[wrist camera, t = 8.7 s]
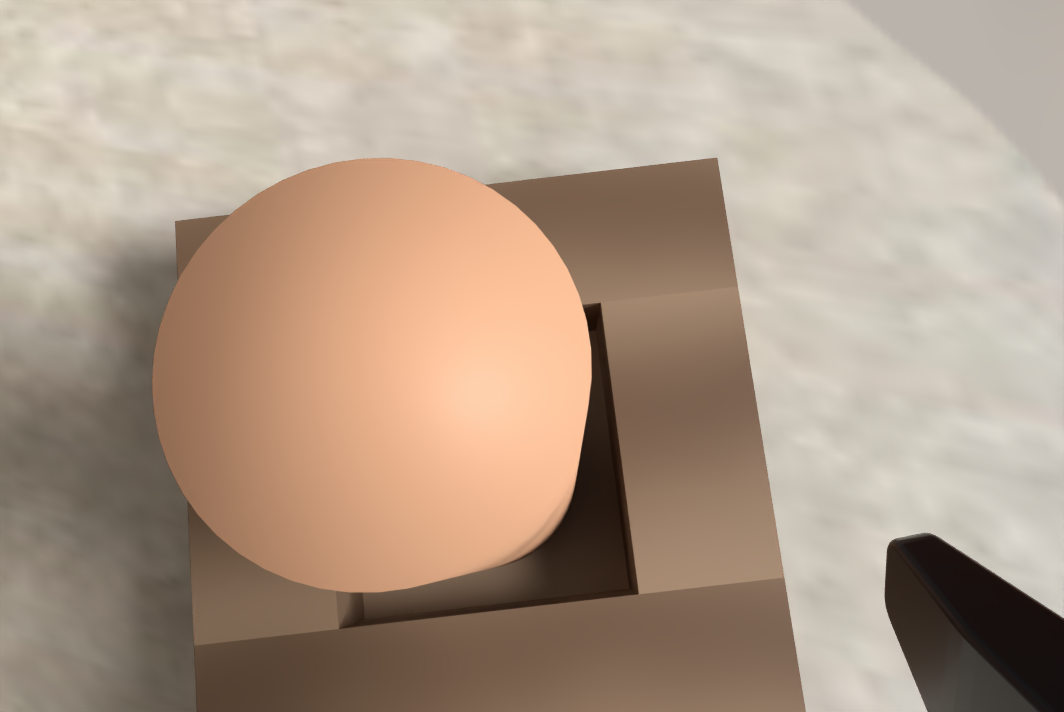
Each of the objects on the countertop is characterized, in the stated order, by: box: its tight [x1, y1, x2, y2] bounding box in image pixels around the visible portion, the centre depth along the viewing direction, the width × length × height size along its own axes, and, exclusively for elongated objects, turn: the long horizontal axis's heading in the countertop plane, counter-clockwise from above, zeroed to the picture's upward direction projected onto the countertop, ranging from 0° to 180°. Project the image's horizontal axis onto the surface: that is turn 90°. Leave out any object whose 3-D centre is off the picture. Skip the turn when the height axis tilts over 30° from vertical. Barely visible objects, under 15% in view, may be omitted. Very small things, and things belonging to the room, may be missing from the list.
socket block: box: [175, 158, 806, 712], centre depth 20 cm, size 11×11×3 cm
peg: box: [152, 158, 592, 592], centre depth 15 cm, size 4×4×12 cm
